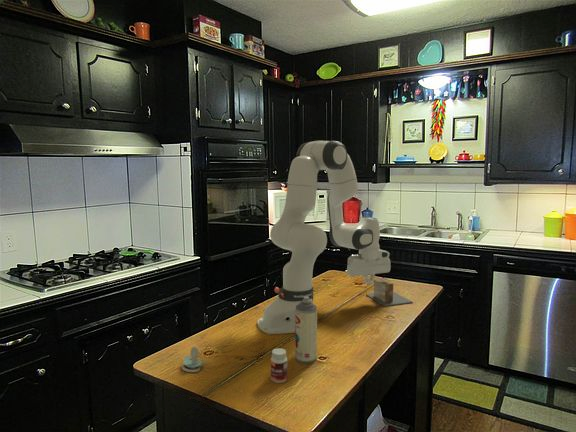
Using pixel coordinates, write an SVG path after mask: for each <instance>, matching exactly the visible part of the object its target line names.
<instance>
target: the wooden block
mask: <svg viewBox="0 0 576 432" xmlns="http://www.w3.org/2000/svg"><path fill="white" fill-rule="evenodd" d="M393 292H394V282H391V281H389V280H386V279H384V278H382V277H381V278H374V279H373V293H374V297H376V298H378V299H380V300H382V301H383V302H391V301H393Z"/></svg>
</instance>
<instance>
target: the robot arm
mask: <svg viewBox="0 0 576 432" xmlns="http://www.w3.org/2000/svg"><path fill="white" fill-rule="evenodd" d="M319 171H326V172H327V178H328V179H327V180H328V183H329V192H328V194H327V209H328V220H329V221H328V222H329V234H328V235H329V240H330V242H331V243H332V245H333V246H335V247H339V248H340V247H343V248H347V249H353V250H358V253H357V254H351V255H350V256H349V257H348V258H347V267H346V274H347V275H348V276H349V277H351V278H352V277H353V278H354V277H360V276H362V278H363V279H364V284H365V285H366V286H367V285H372V284H374V279H375V278H376V275H377V274H385V273H390V271H391V259H390V252H389V251H387V250H383V249H381V248H380V243H379V241H380V238H381V237H380V236H381V234H380V233H381V232H380V229H381V227H380V221H379V219H378V218H376V217H371V216H370V217H369V216H362V217H360V220H359V221H358V222H357V223H356V224H354V225H349V224H347V223H345V222H344V216H343V203H344V202H347V201H348V200H351V199H352V198H353V197H354V196H355V195H356V194H357V192H358V187H359V186H358V179H357V175H356V170H355V167H354V163H353V161H352V159H351V157H350V155H349V154H348V151H347V148H346V146H345V144H343V143H342V142H340V141H337V140H314V141H307V142H304V143H302V144H300V146H299V147H298V149H297V151H296V156H295V158H293V159H292V161H291V164H290V167H289V171H288V176H287V177H288V178H287V185H286V186H287V187H286V197H285V203H284V207H283V211H282V213H281V216H280V218H279V219H278V221H277V222H276V223H275V224H273V225H272V227H271V230H270V235H269V236H270V240H271V242H272V243H273V244H274V245H275V246H277V247H278V248H281V249H283V250H286V251H291V257H290V261H288V262H287V263H286V264H285V265H284V266H283V269H282V279H283V280H282V283H283V284H282V287H281V288H279V287H278V286H276V287H275V288H274V292H275V293H276V294H277V295H278V297H276V298H275V299H274V300H273V301H272V302H271V303H269V304H268V305H267V306H265V308H264V311H263V314H262V315H263V316H262V317H261V318H259V319H257V321H256V322H257V327H258V328H259V330H260V331H262V333H265V334H266V335H277V334H278V335H279V334H293V333H294V334H295V309H296V305H298V304H299V303H300V302H301V301H302V300H304V297H305V296H307V297H309V300H310V301H311V302H312V303H313V301H314V286H313V272H314V271H313V270H314V265H315V262H316V260H317V257H318V256H319V255H320V254H322V253H323V252H324V251H325V249H326V248H327V244H328V237H327V236H328V235H327V233H326V232H325V230H324V229H323V228H320V227H318V226H317V225H314V224H309V223H305V221H306V218H307V217H308V215H309V213H311V212H312V211H313V210H314V209H315V207H316V202H317V201H316V200H317V191H318V190H317V189H318V173H319ZM368 275H369V278H368Z"/></svg>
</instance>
